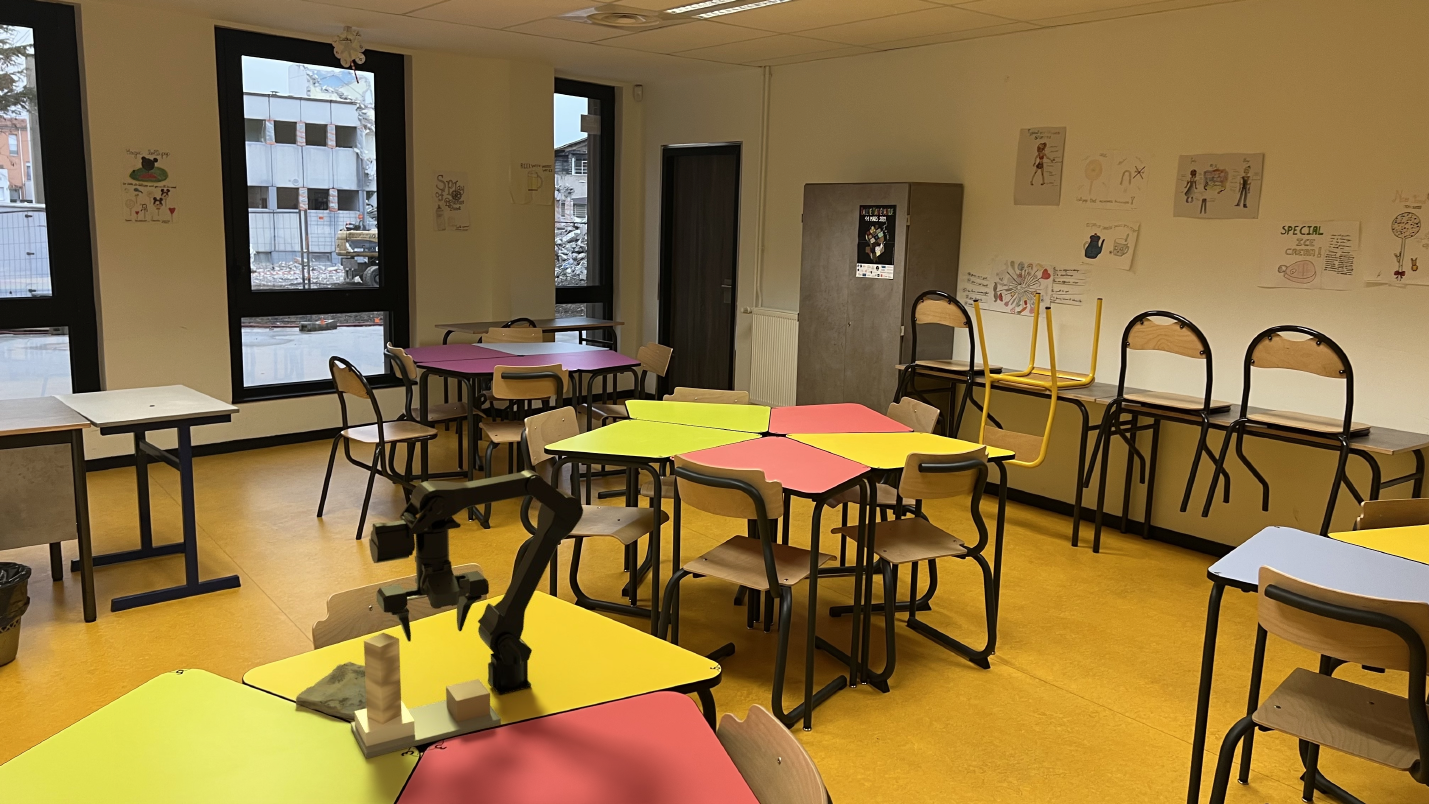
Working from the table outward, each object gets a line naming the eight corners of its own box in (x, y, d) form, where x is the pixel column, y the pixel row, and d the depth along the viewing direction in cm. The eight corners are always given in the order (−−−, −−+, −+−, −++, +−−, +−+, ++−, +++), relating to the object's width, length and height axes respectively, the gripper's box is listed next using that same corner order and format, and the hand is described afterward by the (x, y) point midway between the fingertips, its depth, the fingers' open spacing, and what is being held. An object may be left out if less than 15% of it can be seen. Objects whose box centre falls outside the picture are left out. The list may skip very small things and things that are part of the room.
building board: (479, 696, 185) (479, 671, 184) (500, 723, 176) (500, 697, 175) (350, 727, 173) (349, 701, 172) (366, 758, 164) (365, 730, 163)
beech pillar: (386, 707, 173) (383, 632, 171) (401, 714, 171) (399, 638, 168) (366, 717, 170) (363, 640, 167) (382, 724, 168) (379, 646, 165)
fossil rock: (340, 670, 195) (339, 658, 194) (411, 679, 192) (411, 668, 192) (286, 713, 178) (285, 701, 178) (363, 724, 175) (363, 712, 175)
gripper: (390, 577, 166) (393, 664, 169) (499, 559, 175) (500, 642, 178) (374, 556, 175) (377, 639, 178) (478, 540, 185) (479, 619, 188)
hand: (434, 635), depth 180 cm, fingers open, 9 cm apart
